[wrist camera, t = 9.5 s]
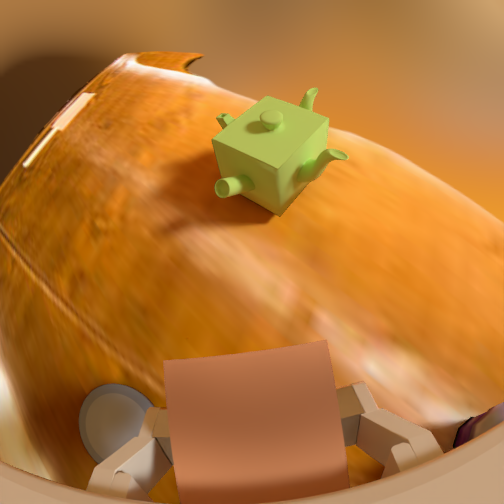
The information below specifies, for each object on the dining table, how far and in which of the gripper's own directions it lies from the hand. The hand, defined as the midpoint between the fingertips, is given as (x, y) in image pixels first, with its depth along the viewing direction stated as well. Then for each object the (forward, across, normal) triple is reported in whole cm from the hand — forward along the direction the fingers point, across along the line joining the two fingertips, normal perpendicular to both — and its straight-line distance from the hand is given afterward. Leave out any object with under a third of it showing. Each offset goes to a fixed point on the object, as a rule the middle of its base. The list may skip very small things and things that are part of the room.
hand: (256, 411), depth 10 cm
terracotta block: (+4, 0, +5) cm, 6 cm away
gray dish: (+12, +17, +16) cm, 26 cm away
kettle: (+33, -6, -5) cm, 34 cm away
